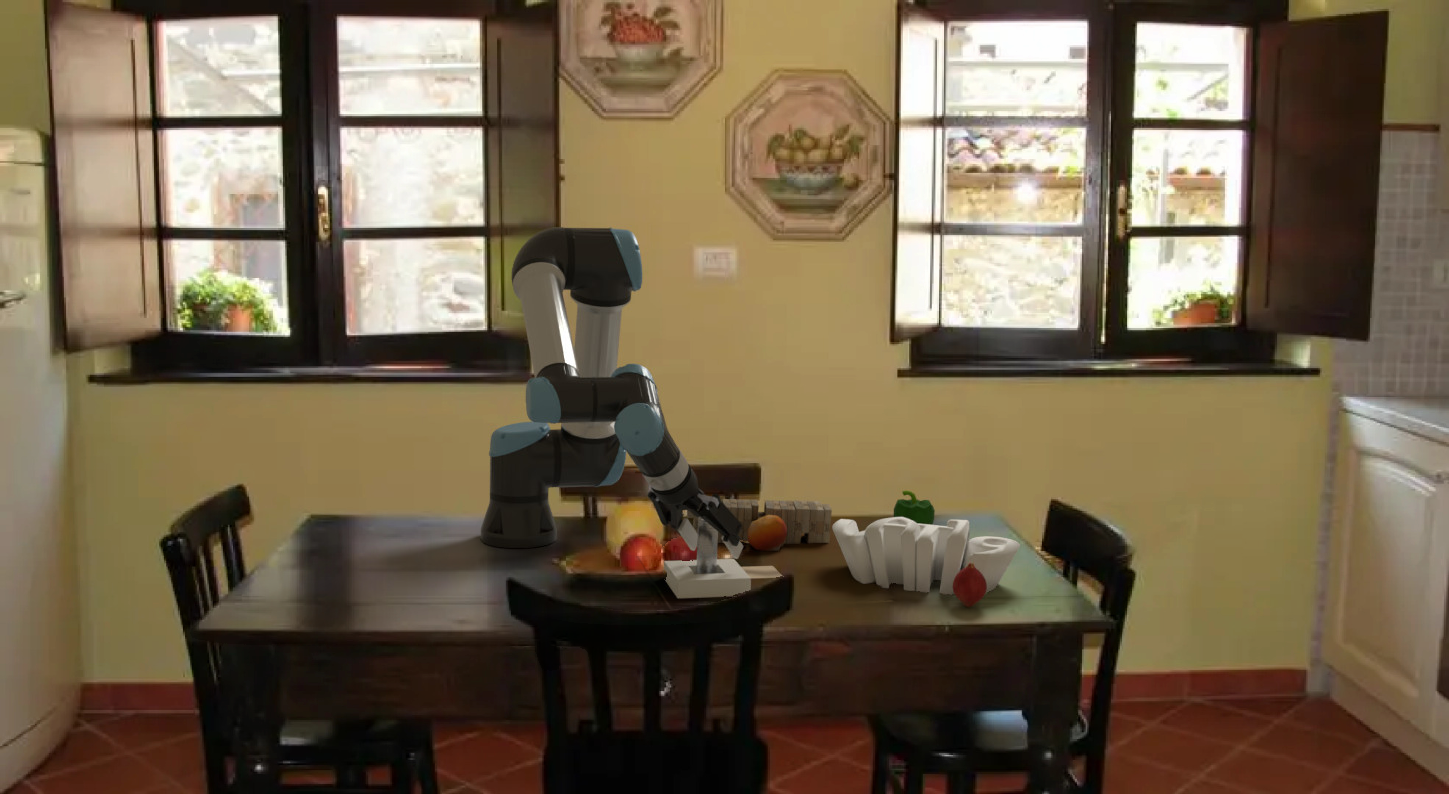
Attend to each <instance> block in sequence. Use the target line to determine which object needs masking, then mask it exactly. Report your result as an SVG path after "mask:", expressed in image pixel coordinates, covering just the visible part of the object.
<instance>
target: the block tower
mask: <svg viewBox="0 0 1449 794" xmlns="http://www.w3.org/2000/svg"><path fill="white" fill-rule="evenodd" d="M721 501H722V502H723V503H724V505H725V506H726V507H727V508H728V509H729V510H730V511H731V513H732V514H733V515H734V516H735V517H736V518H737V519H738V521H739V522H740V523H741V524H742V528H741V530H740V532H739V534H738V536H739V537H740V540H743V541H748V535H747V531H748V528H749V526H750V525H751V523H752V522H753V521H756V520H758V518H761V517H764V516H766V515H776V516H778V517H780V518H781V519H782V520H783V521H784V523H785V525H786V527H787V535H786V538H785V541H784V544H783V545H790V544H791V545H792V544H793V545H795V544H796V545H797V544H801V540H802V539H801V538H802V534H803V536H804V538H805V541H806V544H830V539H831V538H830V536H831V526H832V525H831V523H832V512H833V510H832V507H830V504H826V503H822V502H821V501H820V500H819V501H817V500H814V501H812V500H811V501H809V500H777V499H775V500H769V499H766V500H764V508H763V511H759V507H760V506H759V501H758V499H736V498H730V499H727V498H722V499H721ZM700 506H701V505H700ZM699 508H700V507H699ZM698 510H699V509H698ZM686 517H687V519H692V520H693V521H692V526H693V528H694V529H695V531H696V532H697V534H698V517H696V516H695V515H694V514H692V513H691V512H690V511H688V510H686ZM721 537H722V534H720V533H719V532H718V544H725V543H724V542H723V540H722V539H721Z"/></svg>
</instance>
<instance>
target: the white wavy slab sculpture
mask: <svg viewBox="0 0 1449 794" xmlns="http://www.w3.org/2000/svg"><path fill="white" fill-rule="evenodd" d="M856 521H857V520H856ZM856 521H855V520H854V519H847V518H840V519H838V520H837V521H835V522H834V523H833V524H832V525H831V526H832V531H833V534H834V537H835V538H836V540H837V543H838V545H839V547H840V549H841V552H842V554H843V557H844V559H845V561H846V564H847V567H848V569H849V571H850V573H851V576H852V577H853V579H855V580H856V581H858V582H859V583H861V584H863V585H865V584H872V583H876V586H877V585H878V586H880V587H881V588H882V589H890V586H891V585H892V584H893V583H896V584H897V585H903V591H908V592H909V591H911V592H915V591H916V592H918V591H920V592H919V593H927V592H929V593H930V590H931V589H930V587H931V585H932V584H933V582H934V581H940V585H939V586H940V587H939V593H938V594H940V593H943V594H942V595H947V594H950V595H951V596H952V594H954V592H953V581H954V578H955V576H956V575H957V573H958V572H959V571H960V570H962V569H964V568H965V567H967V566H968V564H969V563H974V566H975V568H976V569H978V570H979V571H980V572H981V573H982V575H983V576H984V578H985V580H986V584H987V590H986V594H988V593H987V592H989V591H991V590H993V589H994V588H995V589H997V587H998V585H999V583H1000V582H1001V580H1002V578H1003V577H1004V574H1005V573H1006V571H1007V570H1008V567H1010V564H1011V563H1012V561H1013V559H1014V557H1015V555H1016V554H1017V553H1018V550H1019V549H1020V547H1021V544H1020V543H1019V542H1017V541H1016V540H1014V539H1012V538H1006V537H1001V536H989V535H987V536H977V537H972V538H970V521H969V520H968V519H948V521H947V522H946V525H936V524H933V525H929V524H918V523H916V522H914V521H913V520H910V519H908V518H905V517H894V516H892V517H887V518H881V519H880V518H879V519H877V520H874V521H873V522H872V523H870V524H869V525H867V527H866V528H865V530H861V531H859V528H858V524H857V522H856ZM933 580H934V581H933ZM891 583H892V584H891ZM931 583H932V584H931ZM890 584H891V585H890ZM889 585H890V586H889ZM996 586H997V587H996ZM995 589H994V590H995ZM994 590H993V591H994ZM991 592H992V591H991ZM989 593H990V592H989ZM950 595H949V596H950ZM954 595H955V594H954Z"/></svg>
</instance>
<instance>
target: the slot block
mask: <svg viewBox="0 0 1449 794" xmlns="http://www.w3.org/2000/svg"><path fill="white" fill-rule="evenodd" d="M692 560H693V561H692ZM663 561H664V562H663V570H664V569H665V571H666V572H667V577H666V580H665V582H666V583H667V585H668V587H669V588H670V589H671V591H672V593H673V594H674V596H675V597H676V598H677V599H694V598H695V599H697V598H699V599H701V598H722V597H723V598H725V597H724V596H726V597H734V596H733V595H735V594H738V593H743V592H745V591H749V590H751V589H752V587H751V586H752V579H751V578H750V576H749V575H748V574H747V573H746V572H745V571H744V570H743V569H742V568H741V567H742V566H741V565H740V564H739V563H738V562H737V561H736V560H735V558H720V559H718V558H717V573H715V574H696V569H697V559H690V561H682V560H663Z"/></svg>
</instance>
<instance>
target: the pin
mask: <svg viewBox="0 0 1449 794" xmlns="http://www.w3.org/2000/svg"><path fill="white" fill-rule="evenodd" d="M718 544H719V543H718V531H717V530H716V529H714V528H713V527H712V526H711V525H710V524H708V523H707V522H706V521H705V520H704V519H702V518H701V517H698V538H697V547H696V560H697V569H696V574H715V573H717V559H718Z"/></svg>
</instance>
